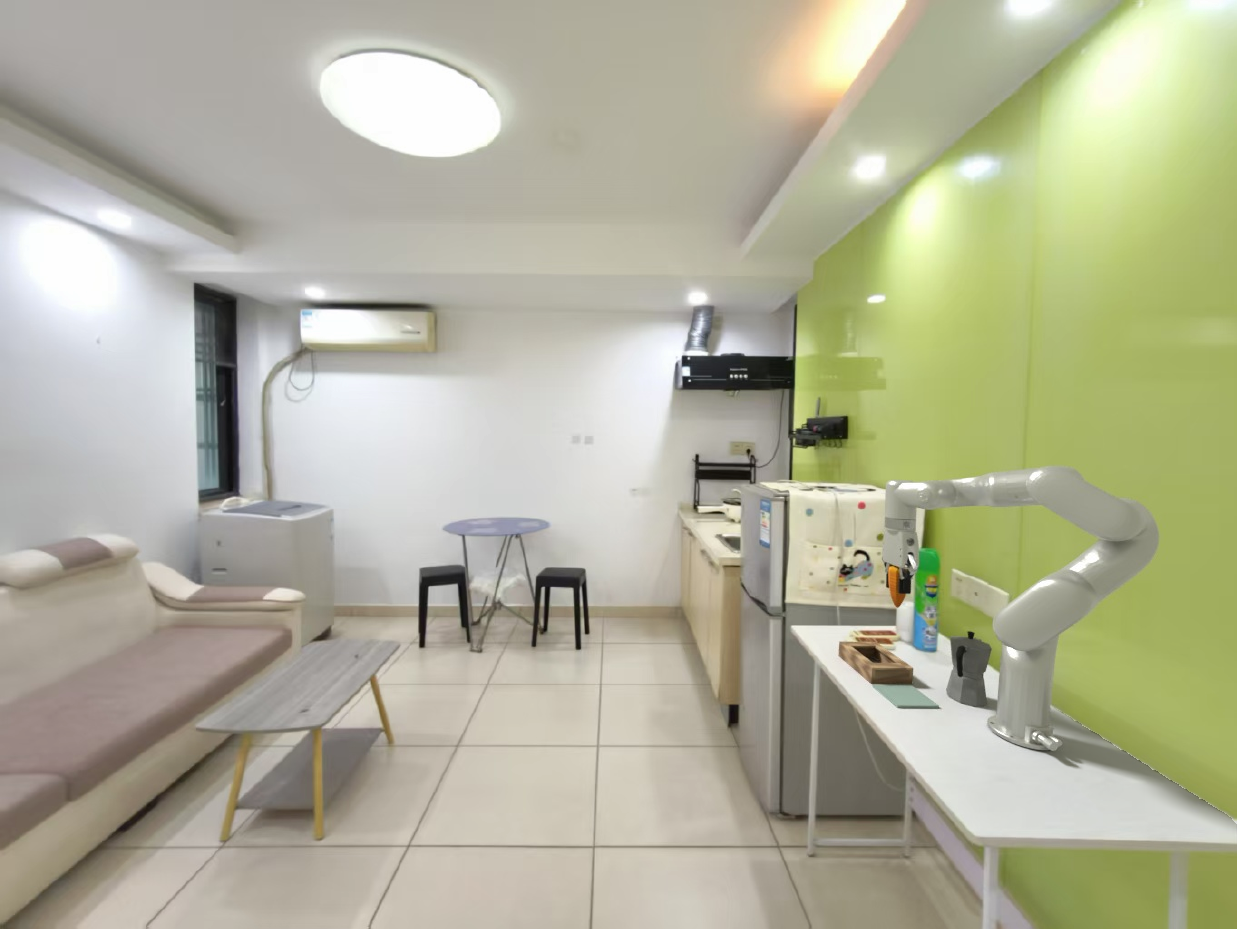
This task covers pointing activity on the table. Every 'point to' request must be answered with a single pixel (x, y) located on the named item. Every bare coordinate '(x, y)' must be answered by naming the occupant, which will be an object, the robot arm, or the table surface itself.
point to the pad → (905, 696)
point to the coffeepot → (968, 670)
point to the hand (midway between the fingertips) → (898, 589)
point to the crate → (875, 673)
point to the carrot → (895, 585)
